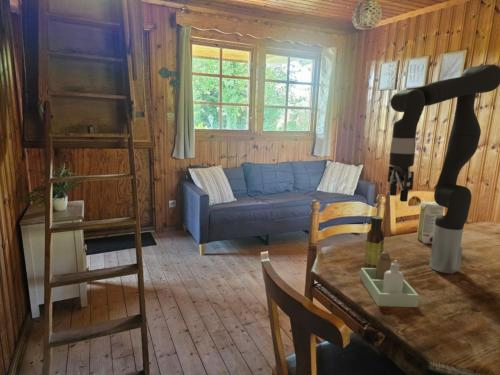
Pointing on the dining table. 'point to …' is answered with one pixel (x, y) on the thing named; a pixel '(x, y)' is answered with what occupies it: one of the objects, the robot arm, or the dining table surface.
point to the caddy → (375, 285)
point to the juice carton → (428, 220)
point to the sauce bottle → (374, 242)
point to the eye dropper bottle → (393, 279)
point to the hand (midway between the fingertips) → (397, 198)
